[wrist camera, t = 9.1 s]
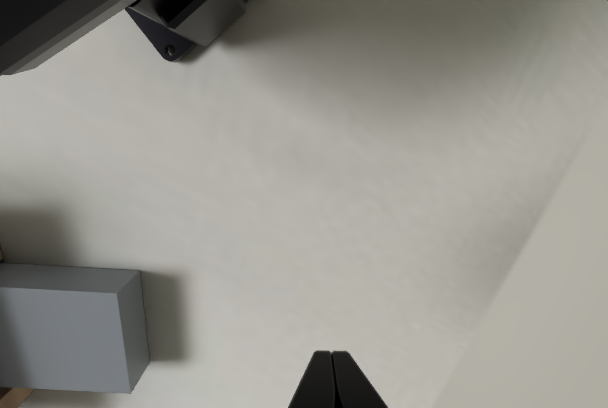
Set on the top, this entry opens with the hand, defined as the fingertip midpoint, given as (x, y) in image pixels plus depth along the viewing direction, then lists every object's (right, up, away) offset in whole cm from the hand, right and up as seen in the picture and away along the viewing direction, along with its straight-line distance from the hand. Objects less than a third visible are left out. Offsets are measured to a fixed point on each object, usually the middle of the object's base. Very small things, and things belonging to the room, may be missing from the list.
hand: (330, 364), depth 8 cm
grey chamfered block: (-19, -3, +13) cm, 23 cm away
